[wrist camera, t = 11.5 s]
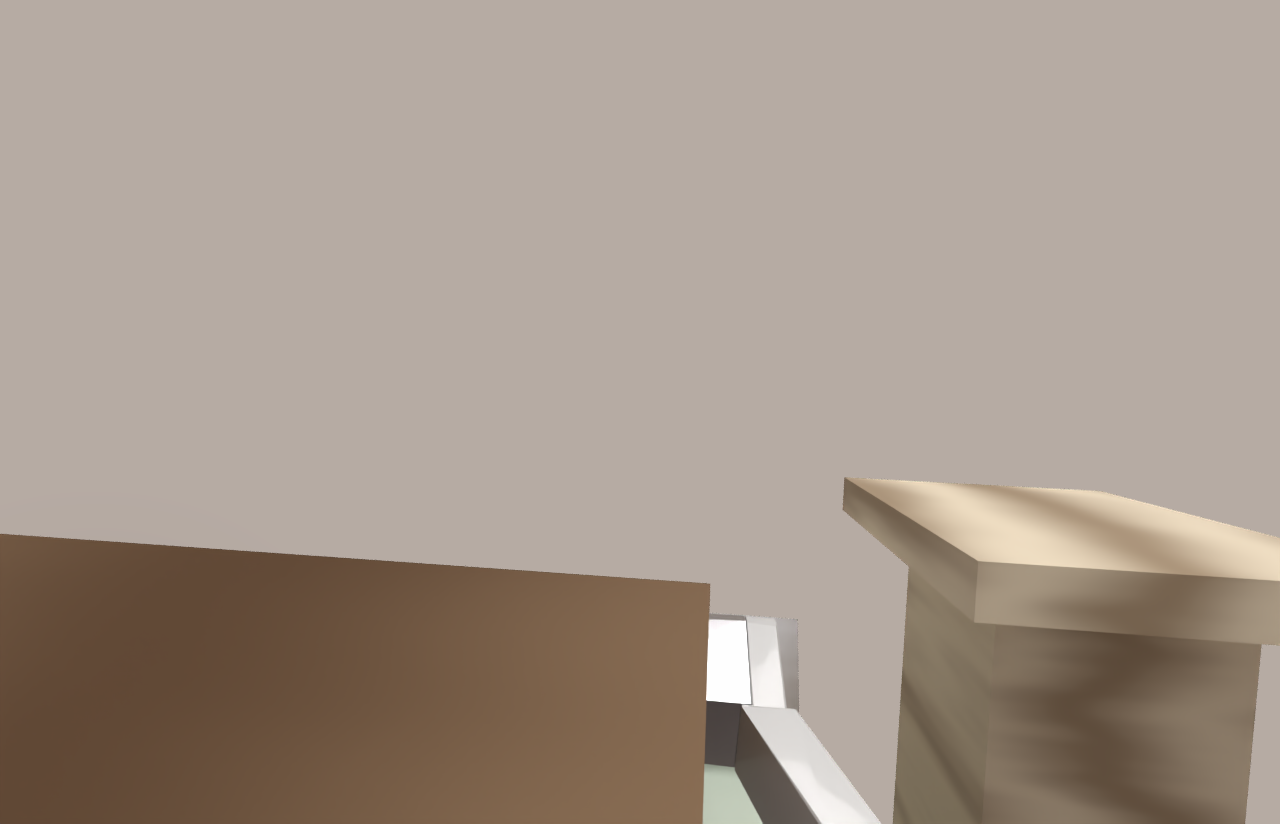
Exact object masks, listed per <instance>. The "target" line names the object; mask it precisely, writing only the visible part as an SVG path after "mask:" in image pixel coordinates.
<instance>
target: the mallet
mask: <svg viewBox="0 0 1280 824" xmlns="http://www.w3.org/2000/svg"><path fill="white" fill-rule="evenodd" d="M709 606H710V584H707V583H692V582H678V581H663V580H650V579H635V578H621V577H607V576H593V575H579V574H565V573H550V572H536V571H522V570H508V569H493V568H479V567H464V566H451V565H436V564H422V563H407V562H394V561H380V560H365V559H351V558H337V557H336V558H335V557H322V556H308V555H294V554H279V553H266V552H250V551H236V550H222V549H209V548H194V547H179V546H166V545H151V544H137V543H123V542H122V543H121V542H109V541H94V540H80V539H66V538H65V539H64V538H52V537H38V536H37V537H36V536H23V535H9V534H0V824H703V795H704V764H705V732H706V701H707V669H708V638H709V614H719V613H709ZM722 615H732V614H722ZM742 616H745V617H759V616H746V615H742ZM763 618H772V617H763ZM774 619H775V621H776V623H777V628H778V637H779V645H780V654H781V663H782V671H783V680H784V689H785V698H786V706H787V708H790V709H796V710H797V712H798V713H799V680H798V620H797V619H786V618H774Z"/></svg>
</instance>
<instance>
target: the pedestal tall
mask: <svg viewBox="0 0 1280 824" xmlns="http://www.w3.org/2000/svg"><path fill="white" fill-rule="evenodd" d="M843 510H844V511H845V512H846V513H847V514H849V516H851V517H852V518H853V519H854V520H855V521H856V522H858V523H859V524H860V525H861V526H862V527H863V528H865V529H866V530H867V531H868V532H869V533H870V534H872V535H873V536H874V537H875V538H876V539H877V540H879V541H880V542H881V543H882V544H883V545H884V546H885V547H887V548H888V549H889V550H890V551H891V552H893V553H894V554H895V555H896V556H897V557H898V558H900V559H901V560H902V561H903V562H904V563H905V564H906V565H908V566H909V572H908V573H909V574H908V588H907V604H906V621H905V636H904V637H905V638H904V652H903V669H902V684H901V700H900V716H899V732H898V748H897V765H896V781H895V796H894V812H893V824H1245V818H1246V806H1247V796H1248V785H1249V775H1250V763H1251V753H1252V742H1253V731H1254V721H1255V709H1256V698H1257V687H1258V676H1259V666H1260V655H1261V645H1262V644H1265V645H1279V646H1280V538H1278V537H1275V536H1271V535H1267V534H1263V533H1259V532H1255V531H1252V530H1247V529H1244V528H1240V527H1236V526H1233V525H1229V524H1225V523H1221V522H1217V521H1213V520H1209V519H1206V518H1201V517H1198V516H1194V515H1190V514H1186V513H1183V512H1179V511H1175V510H1171V509H1167V508H1163V507H1159V506H1156V505H1152V504H1148V503H1144V502H1140V501H1137V500H1133V499H1129V498H1125V497H1121V496H1118V495H1114V494H1110V493H1106V492H1102V491H1087V490H1070V489H1050V488H1031V487H1014V486H995V485H975V484H958V483H939V482H921V481H902V480H901V481H900V480H883V479H865V478H846V477H845V478H844V496H843Z"/></svg>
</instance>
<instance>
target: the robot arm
mask: <svg viewBox="0 0 1280 824" xmlns="http://www.w3.org/2000/svg"><path fill="white" fill-rule="evenodd" d="M705 764H710V765H718V766H727V767H735V772H736V774H737V776H738V778H739V779H740V781H741V783H742V785H743V787H744V789H745V791H746V793H747V795H748V796H749V798H750V800H751V802H752V804H753V806H754V808H755V810H756V812H757V813H758V815H759V817H760V819H761V821H762V823H763V824H881V823H880V821H879V820H878V819H877V817H876V816H875V815H874V813H873V812H872V811H871V809H870V808H869V806H868V805H867V804H866V802H865V801H864V800H863V798H862V797H861V796H860V795H859V793H858V792H857V790H856V789H855V788H854V787H853V785H852V784H851V783H850V781H849V780H848V778H847V777H846V776H845V774H844V773H843V772H842V771H841V769H840V768H839V766H838V765H837V764H836V762H835V761H834V760H833V758H832V757H831V756H830V754H829V753H828V752H827V751H826V749H825V748H824V746H823V745H822V744H821V743H820V741H819V740H818V738H817V737H816V736H815V734H814V733H813V732H812V730H811V729H810V728H809V726H808V725H807V724H806V722H805V721H804V720H803V718H802V717H801V716H800V714H799V713H798V712H797V710H796V709H790V708H787V706H786V698H785V689H784V680H783V671H782V663H781V654H780V645H779V637H778V628H777V623H776V621H775V619H774V618H763V617H745V616H742V615H722V614H709V638H708V669H707V701H706V732H705Z"/></svg>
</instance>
